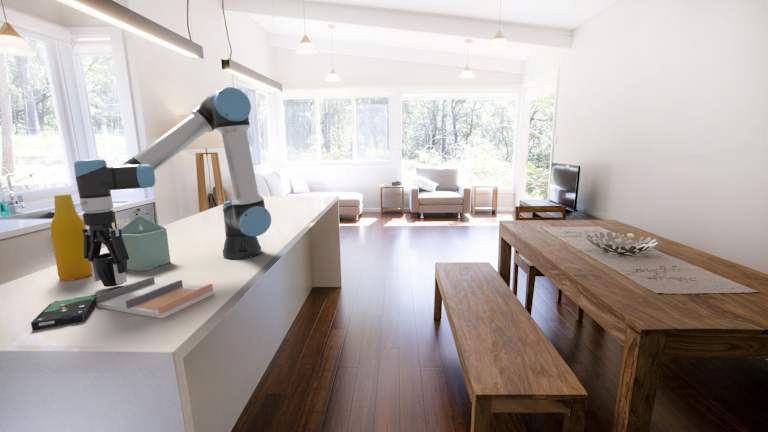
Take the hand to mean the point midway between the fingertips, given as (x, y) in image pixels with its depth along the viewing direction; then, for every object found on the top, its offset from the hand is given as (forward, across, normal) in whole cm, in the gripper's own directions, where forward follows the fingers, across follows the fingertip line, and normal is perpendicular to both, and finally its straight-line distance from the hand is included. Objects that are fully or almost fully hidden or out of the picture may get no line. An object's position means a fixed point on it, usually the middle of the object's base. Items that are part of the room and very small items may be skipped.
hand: (110, 281), depth 113 cm
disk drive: (+3, +8, -16) cm, 19 cm away
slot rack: (+3, +22, -2) cm, 23 cm away
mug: (+2, +1, 0) cm, 2 cm away
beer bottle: (+3, -26, +6) cm, 27 cm away
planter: (+3, -11, +20) cm, 23 cm away
